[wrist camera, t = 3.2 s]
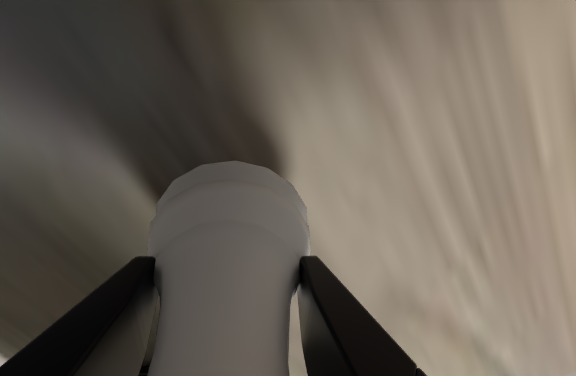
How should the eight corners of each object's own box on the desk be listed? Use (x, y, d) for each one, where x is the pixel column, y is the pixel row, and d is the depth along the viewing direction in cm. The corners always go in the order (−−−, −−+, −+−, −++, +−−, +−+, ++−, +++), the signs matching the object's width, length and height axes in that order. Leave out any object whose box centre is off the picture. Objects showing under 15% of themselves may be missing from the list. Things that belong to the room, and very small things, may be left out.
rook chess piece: (139, 249, 10) (-149, 851, 3) (188, 125, 8) (-277, 943, 1) (267, 287, 11) (292, 750, 4) (333, 189, 9) (572, 711, 2)
